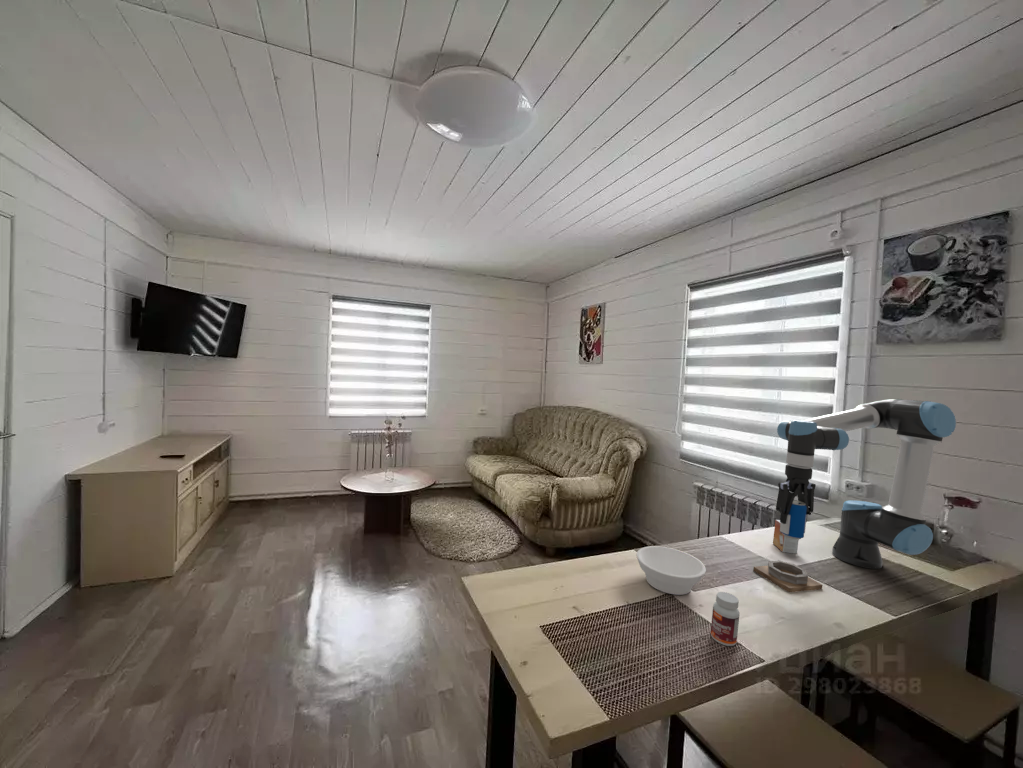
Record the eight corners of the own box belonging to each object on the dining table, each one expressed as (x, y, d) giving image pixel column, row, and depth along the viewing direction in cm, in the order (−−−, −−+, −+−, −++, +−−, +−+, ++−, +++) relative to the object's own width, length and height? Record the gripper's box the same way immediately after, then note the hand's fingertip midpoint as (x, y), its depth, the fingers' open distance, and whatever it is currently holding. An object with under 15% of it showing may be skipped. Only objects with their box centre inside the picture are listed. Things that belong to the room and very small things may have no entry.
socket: (784, 568, 149) (785, 557, 149) (822, 589, 136) (823, 577, 136) (753, 570, 146) (754, 559, 145) (788, 592, 132) (790, 580, 132)
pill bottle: (707, 638, 106) (711, 596, 106) (713, 628, 111) (717, 587, 110) (733, 650, 102) (738, 607, 102) (739, 639, 107) (743, 597, 106)
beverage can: (807, 541, 136) (811, 506, 135) (785, 538, 137) (789, 503, 137) (797, 533, 142) (801, 500, 142) (777, 531, 143) (780, 497, 143)
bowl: (712, 587, 133) (715, 562, 132) (689, 613, 117) (692, 585, 117) (650, 562, 147) (652, 540, 147) (622, 582, 132) (624, 558, 131)
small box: (772, 543, 171) (774, 519, 171) (786, 545, 170) (789, 520, 170) (782, 552, 163) (784, 526, 163) (797, 554, 162) (800, 528, 162)
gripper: (810, 463, 145) (803, 526, 146) (766, 463, 140) (760, 528, 141) (831, 468, 137) (824, 535, 139) (786, 468, 132) (779, 538, 133)
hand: (792, 532), depth 140 cm, fingers closed on beverage can, 6 cm apart
